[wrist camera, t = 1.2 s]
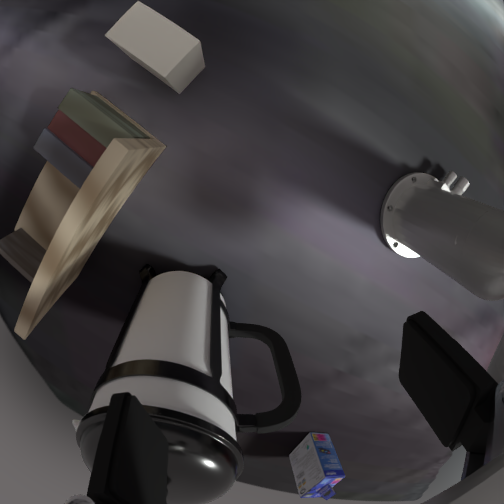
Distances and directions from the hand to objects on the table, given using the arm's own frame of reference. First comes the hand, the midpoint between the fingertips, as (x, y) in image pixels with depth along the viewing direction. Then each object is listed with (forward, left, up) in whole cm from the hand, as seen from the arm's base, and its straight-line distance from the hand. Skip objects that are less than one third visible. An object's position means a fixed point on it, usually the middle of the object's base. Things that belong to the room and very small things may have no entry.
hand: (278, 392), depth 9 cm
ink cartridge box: (+29, +45, -30) cm, 61 cm away
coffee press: (+14, +4, -30) cm, 33 cm away
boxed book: (-8, -18, -30) cm, 36 cm away
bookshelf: (+11, -17, -30) cm, 36 cm away
